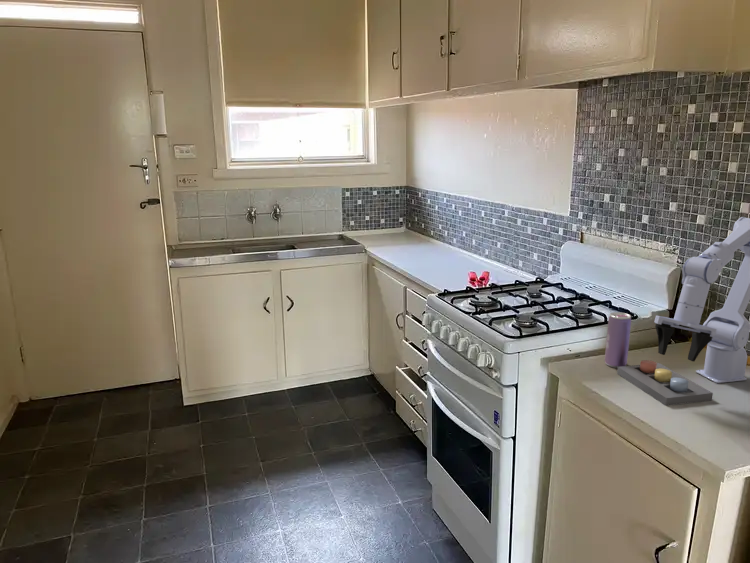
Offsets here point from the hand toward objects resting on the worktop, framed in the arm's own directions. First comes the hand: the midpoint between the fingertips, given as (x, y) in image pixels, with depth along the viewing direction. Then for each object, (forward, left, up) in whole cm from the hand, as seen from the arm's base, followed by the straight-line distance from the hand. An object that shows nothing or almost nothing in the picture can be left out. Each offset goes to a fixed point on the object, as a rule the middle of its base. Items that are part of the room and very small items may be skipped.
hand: (676, 357), depth 143 cm
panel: (-1, -5, -10) cm, 11 cm away
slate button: (-1, +1, -8) cm, 8 cm away
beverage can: (+2, -21, -10) cm, 23 cm away
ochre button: (-1, -5, -8) cm, 10 cm away
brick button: (-1, -11, -8) cm, 14 cm away
